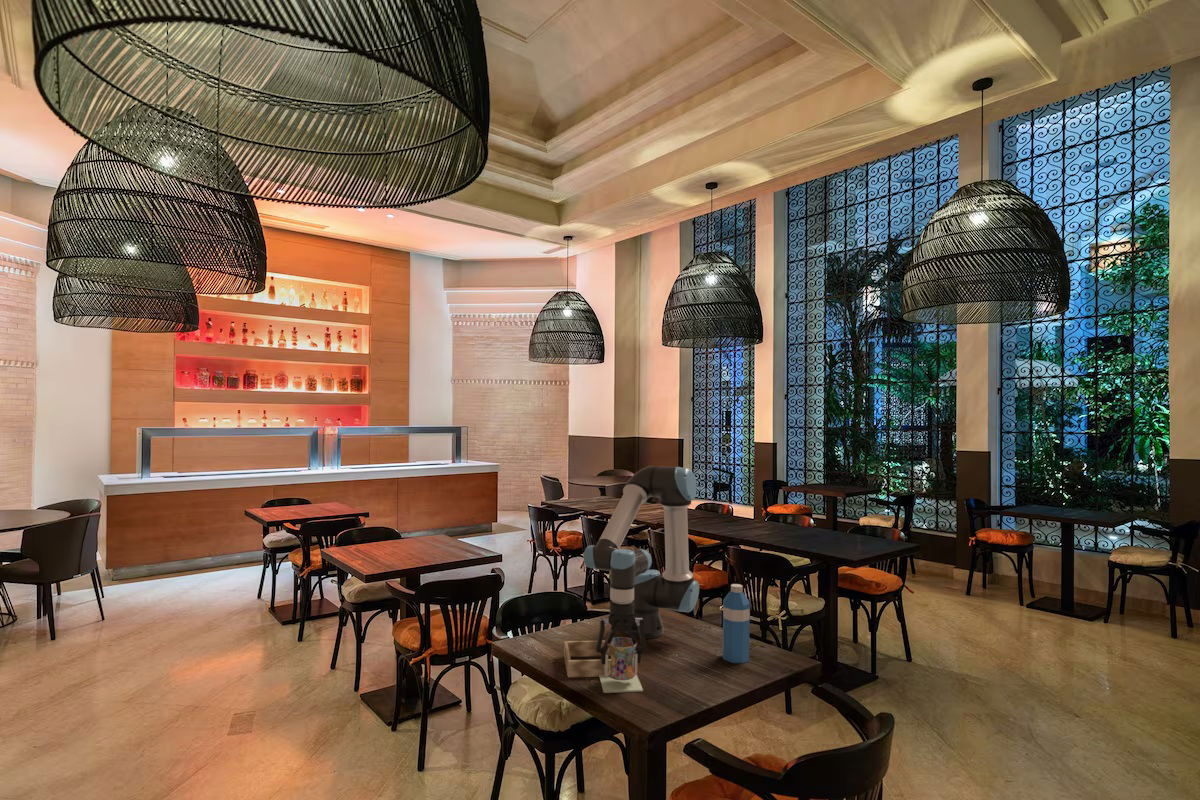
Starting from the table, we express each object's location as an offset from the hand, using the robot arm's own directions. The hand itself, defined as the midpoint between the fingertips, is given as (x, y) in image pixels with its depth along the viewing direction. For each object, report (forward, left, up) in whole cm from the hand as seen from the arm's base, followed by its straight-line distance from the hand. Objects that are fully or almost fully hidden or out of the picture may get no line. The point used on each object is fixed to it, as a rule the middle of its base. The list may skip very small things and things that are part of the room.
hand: (620, 673), depth 200 cm
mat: (0, 0, -3) cm, 3 cm away
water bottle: (-43, -18, -3) cm, 47 cm away
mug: (0, 0, -1) cm, 1 cm away
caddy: (+5, -15, -3) cm, 16 cm away
